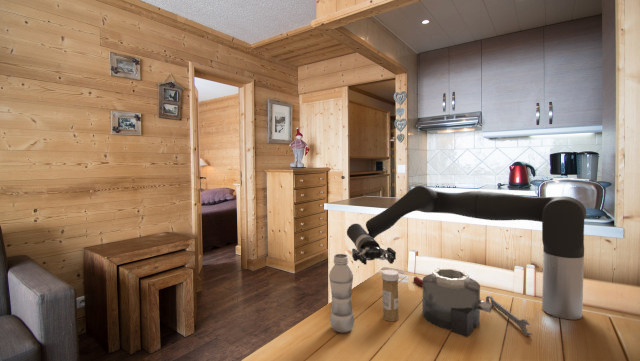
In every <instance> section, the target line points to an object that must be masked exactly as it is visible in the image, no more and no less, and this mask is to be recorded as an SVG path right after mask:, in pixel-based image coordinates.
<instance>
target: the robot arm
mask: <svg viewBox="0 0 640 361" xmlns="http://www.w3.org/2000/svg"><path fill="white" fill-rule="evenodd" d="M415 211H419V212H421V213H422V212H423V213H427V214H429V213H430V214H431V213H435V214H436V213H437V214H439V213H440V214H441V213H442V214H445V213H446V214H453V215H458V216H463V217H467V218H472V219H479V220H487V221H520V220H521V221H523V220H524V221H533V222H540V223H541V226H542V227H541V228H542V230H541V231H542V232H541V235H542V236H541V238H542V239H541V241H542V245H543V246H542V247H543V254H542V257H543V259H542V295H541V297H542V299H541V301H542V302H541V308H542V310H543V312H545V313H546V314H548V315H551V316H553V317H556V318H560V319H564V320H571V321H572V320H580V319H582V318H583V300H584V268H585V265H584V263H585V242H584V240H585V238H584V237H585V219H586V217H587V209H586V207H585V205H584V204H583V203H582V201H580V200H578V199H577V198H574V197H572V196H567V195H566V196H565V195H564V196H525V195H519V194H513V193H512V194H511V193H504V192H496V191H483V190H476V191H475V190H470V191H463V192H444V191H438V190H434V189H432V188H430V187H428V186H425V185H417V186H414V187H412V188H411V189H410V190H409V191H408V192H406V193H405V194H404V195H402V197H401V198H399V199H397V201H396V202H395V203H393V204H392V205H390V206H389V207H387V208H386V209H385V210H383V211H382V212H379V213H378V214H377V215H375V216H373V217H371V218H370V219H368V220H367V221H366V222H365V228H366V229H365V228H363V226H362V225H361V224H360V223H352V224H350V225H349V226H348V228H347V230H346V235H347V237H348V238H349V239H350V240H351V241H352V243H353V244H354V246H355V247H356V248H351V250H352V251H351V258H352V260H353V261H354V262H357V261H359V262H360V263H362V264H363V265H367V261H374V260H380V261H384V260H385V261H388V263H389V264H390V265H392V264H394V262H395V260H396V259H397V256H396V255H397V252H396V251H395V249H393V248H391V247H387V248H386V249H384V248H381V246H380V244H379V242H377V241H376V239H375V238H376V237H378V235H380V234H382V233H384V232H386V231H387V230H389V229H390V228H393V226H394V225H395V224H396V223H397V222H398V221H399V220H400V219H402V217H404V216H406V215H407V214H410V213H413V212H415ZM366 230H367V231H366Z"/></svg>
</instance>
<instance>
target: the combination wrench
mask: <svg viewBox="0 0 640 361" xmlns="http://www.w3.org/2000/svg"><path fill="white" fill-rule="evenodd" d="M485 302H489V303H491V304H492V307H494V308H496V309H497V310H498V311H499V312H501V313H502V314H503V315H504V316H506V317H507V318H508V319H510V320H511V321H512V322H513V323H515V324H516V325H517V326H518V327H519V329H520V330H521V333H523V335H524V336H527V337H528V336H532V332H529V331H528V330H527V326H530V325H531V324H530V322H529V321H528V319H527V320H526V319H519V318H518V317H516V316H515V315H514V314H513V313H511V312H510V311H509V310H507V308H505V307H504V306H502V305H501V304H500V303H499V302H498V301H496V299H494V297H493V296H491V295H487V296H486V297H485Z"/></svg>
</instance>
